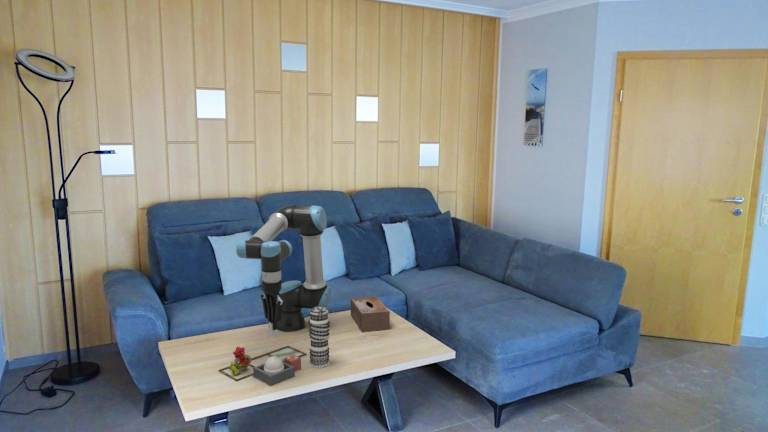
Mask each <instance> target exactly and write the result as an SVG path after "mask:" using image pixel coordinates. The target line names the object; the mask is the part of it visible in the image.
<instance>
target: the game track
mask: <svg viewBox="0 0 768 432" xmlns="http://www.w3.org/2000/svg"><path fill="white" fill-rule="evenodd" d="M291 355H296V356H298V357H300V358H302V357H305V356H307V355H308V354H307V353H306V352H304V351H302V350H299V349H297V348H295V347H292V346H290V345H286V346H283V347H281V348H278V349H275V350H271V351H269V352H265V353H263V354H260V355H257V356H254V357H251V361H254V360H257V359H259V358H263V357H265V356H268V357H272V356H277V357H279V358H280V359H281V360H282V361H283V362H284V358H286V357H288V356H291ZM229 366H230V365H228V366H225V367H223V368H220V369H218V372H219V373H220V374H223V375H225V376H226V377H228V378H230V379H232V380H233V381H235V382H238V381H241V380H245V379H247V378H249V377H252V376H253V372H252V373H249V374H247V375H244V376H242V377H241V376H240V377H239V378H237V377H235V376H233V375H231V374H229V373H228V372H226V371H225V370H228V369H229ZM239 366H241V365H240V364H239ZM248 367H250V368H252V369H253V367H256V366H255V365H254V364H251V363H250V365H249V366H248ZM229 370H230V369H229Z"/></svg>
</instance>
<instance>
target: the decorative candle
mask: <svg viewBox="0 0 768 432" xmlns="http://www.w3.org/2000/svg"><path fill="white" fill-rule="evenodd" d="M308 313H309V317H310V318H309V320H308V322H307V323H308V332H309V333H308V336H309V340H310V344H309V347H310V348H309V351H310V352H309V365H310V367H312V368H316V369H318V368H319V369H321V368H325V367H328V366H329V365H330V347H329V340H330V336H329V335H330V331H331V330H330V329H329V328H330V327H331V325H330V323H331V321H330V320H329V310H328V309H327V308H325V307H321V306H318V307H314V308H312V309H311V310H309V311H308Z"/></svg>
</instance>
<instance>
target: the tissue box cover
mask: <svg viewBox="0 0 768 432" xmlns="http://www.w3.org/2000/svg"><path fill="white" fill-rule="evenodd" d="M390 313H391V311H390V309H388V308H387V307H386V306H385V304H384V303H383V302H382V301H381V300H380V298H379V297H378V296H377V295H375V296H364V297H363V296H362V297H351V298H350V316H351V319H352V320H353V321H354V323H355V325H356V326H357V327H358V329H359V330H360V332H361V333H368V332H369V333H370V332H381V331H390V329H391V328H390V325H391V324H390V323H391V322H390V319H391V317H390V315H391V314H390Z"/></svg>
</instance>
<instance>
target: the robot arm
mask: <svg viewBox="0 0 768 432" xmlns="http://www.w3.org/2000/svg"><path fill="white" fill-rule="evenodd" d="M327 223H328V220H327V213H326V211H325V209H324V208H323V207H322V206H320V205H307V204H306V205H302V204H301V205H299V204H290V205H286V206H283V207H281V208H279V209H277V210H275V211H274V212H273V213H272V214H270V216H269V218H268V220H267V222H265V223H264V224H263V225H262V227H261V228H259V229H258V231H256V232H255V233H254V234H253V235H252V236H251V237H250V238H249V239H240V240H239V241H237V244H236V247H235V248H236V249H235V251H236V254H237V257H238V258H240V259H246V260H248V259H249V260H251V259H252V260H261V278H262V283H261V287H262V291H263V293H262V294H260V298H261V302H262V307H263V314H264V318H265V319H267V321H268V328H269V329H268V330H269V333H268V334H269V338H271V339H274V338H276V337H278V331H281V332H297V331H301V330H302V329H304V328H305V327H306V320H305V316H304V314H303V310H302V309H311V310H312V308H314V307H318V306H321V307H325V308H326V309H327V308H328V307H329V304H330V300H331V296H332V288H331V286H329V285H328V284H327V281H326V280H325V279H324V271H323V270H324V269H323V268H324V267H323V254H322V240H321V236H322V235H323V234H324V231H325V230H326V229H327V225H328V224H327ZM286 230H298V233H299V235H300V237H302V245H303V258H304V259H303V261H304V271H305V281H304V282H303V283H302V281H301V280H288V281H285V282H282V281H281V280H282V263H281V262H283V261H284V260H286V259H287V258H289V256H291V255H292V253H293V247H292V244H291V243H290V241H288V240H286V239H282V240H278V241H273V240H275V239H276V238H277V236H278V235H279V234H280V233H282V232H284V231H286Z"/></svg>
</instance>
